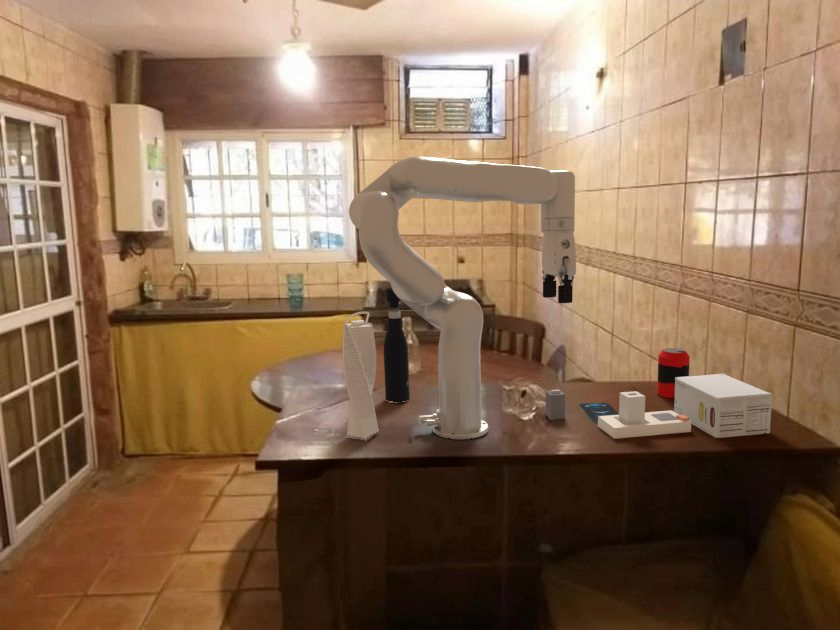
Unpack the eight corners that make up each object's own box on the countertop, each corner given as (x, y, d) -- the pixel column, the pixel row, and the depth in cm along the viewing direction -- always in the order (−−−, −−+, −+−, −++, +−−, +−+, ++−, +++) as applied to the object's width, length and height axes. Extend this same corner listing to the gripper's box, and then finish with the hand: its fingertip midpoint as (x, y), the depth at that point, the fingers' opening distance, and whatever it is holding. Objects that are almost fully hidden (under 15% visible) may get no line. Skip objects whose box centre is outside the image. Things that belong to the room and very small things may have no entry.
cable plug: (550, 419, 151) (551, 392, 150) (545, 415, 155) (545, 388, 154) (564, 418, 152) (565, 391, 151) (559, 413, 155) (559, 387, 154)
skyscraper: (359, 428, 150) (353, 310, 145) (386, 432, 146) (382, 311, 141) (339, 439, 143) (333, 315, 138) (368, 444, 139) (362, 317, 135)
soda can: (679, 401, 163) (681, 355, 161) (651, 395, 168) (653, 350, 166) (693, 394, 168) (695, 350, 166) (665, 389, 173) (667, 346, 171)
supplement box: (672, 414, 153) (673, 376, 152) (722, 410, 155) (724, 372, 154) (715, 439, 137) (717, 396, 135) (770, 434, 139) (773, 392, 137)
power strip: (614, 438, 138) (614, 425, 137) (598, 426, 146) (598, 413, 145) (690, 431, 141) (691, 418, 140) (671, 420, 149) (671, 407, 148)
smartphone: (608, 402, 163) (627, 421, 148) (608, 404, 163) (627, 424, 148) (578, 403, 163) (593, 422, 148) (578, 405, 163) (593, 424, 148)
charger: (627, 432, 141) (628, 397, 139) (618, 426, 144) (619, 392, 143) (644, 431, 141) (645, 395, 140) (635, 425, 145) (636, 390, 144)
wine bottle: (383, 398, 172) (378, 287, 168) (405, 395, 174) (402, 286, 169) (389, 404, 166) (384, 290, 161) (412, 402, 168) (408, 289, 163)
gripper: (589, 226, 138) (587, 304, 141) (559, 224, 155) (558, 294, 158) (555, 227, 137) (555, 306, 140) (529, 225, 154) (529, 296, 157)
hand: (557, 299), depth 149 cm, fingers open, 9 cm apart
